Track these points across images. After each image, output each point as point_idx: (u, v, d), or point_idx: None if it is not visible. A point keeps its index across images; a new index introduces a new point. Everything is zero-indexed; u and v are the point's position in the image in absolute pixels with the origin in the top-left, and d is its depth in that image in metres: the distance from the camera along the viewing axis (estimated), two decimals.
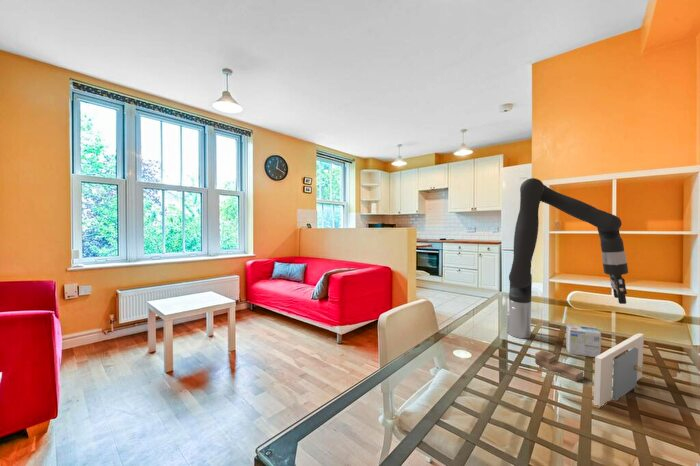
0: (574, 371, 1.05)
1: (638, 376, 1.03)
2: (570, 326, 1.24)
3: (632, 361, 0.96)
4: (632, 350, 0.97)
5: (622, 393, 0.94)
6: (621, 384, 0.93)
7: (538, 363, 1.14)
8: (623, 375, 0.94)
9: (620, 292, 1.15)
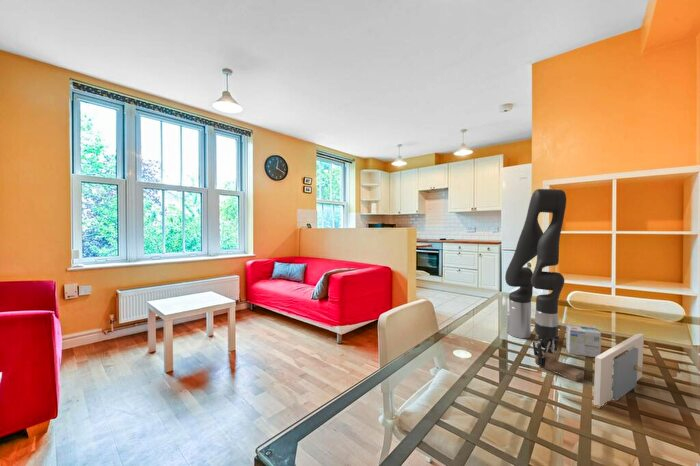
0: (574, 371, 1.05)
1: (638, 376, 1.03)
2: (570, 326, 1.24)
3: (632, 361, 0.96)
4: (632, 350, 0.97)
5: (622, 393, 0.94)
6: (621, 384, 0.93)
7: None
8: (623, 375, 0.94)
9: (536, 354, 1.12)
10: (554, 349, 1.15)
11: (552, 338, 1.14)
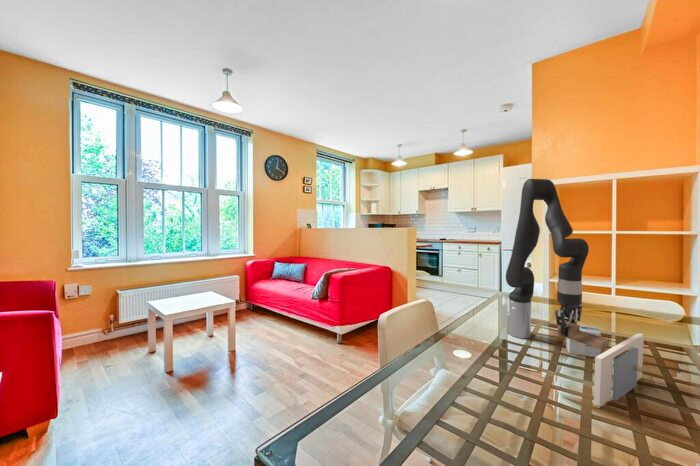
0: (600, 339, 1.02)
1: (638, 376, 1.03)
2: None
3: (632, 361, 0.96)
4: (632, 350, 0.97)
5: (622, 393, 0.94)
6: (621, 384, 0.93)
7: None
8: (623, 375, 0.94)
9: (558, 323, 1.09)
10: (577, 319, 1.12)
11: (575, 307, 1.10)
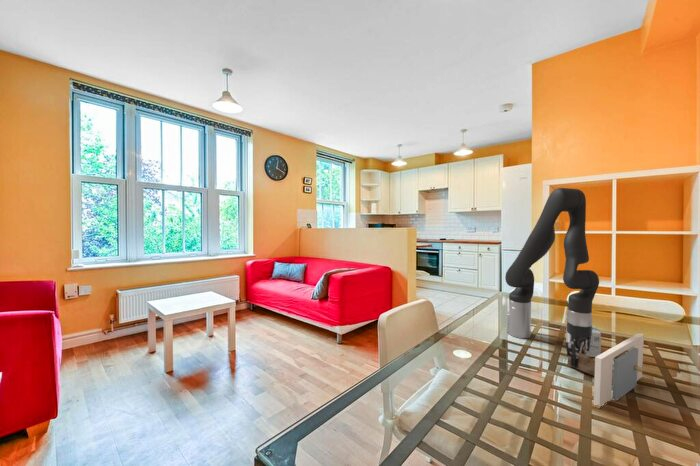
0: None
1: (638, 376, 1.03)
2: None
3: (632, 361, 0.96)
4: (632, 350, 0.97)
5: (622, 393, 0.94)
6: (621, 384, 0.93)
7: None
8: (623, 375, 0.94)
9: (569, 354, 1.09)
10: None
11: (585, 338, 1.11)
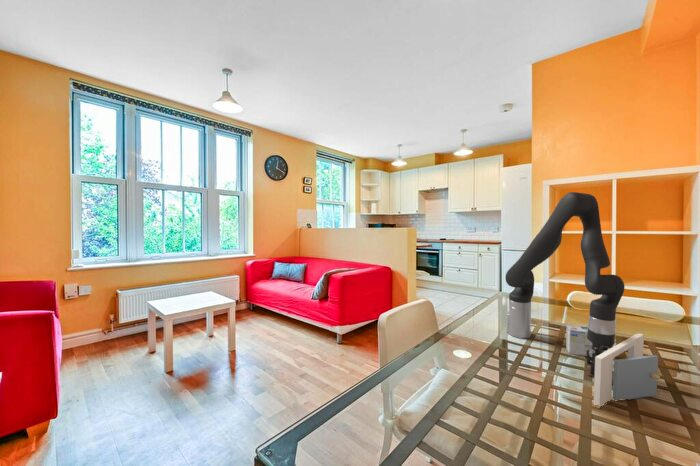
0: None
1: None
2: (570, 326, 1.24)
3: (646, 367, 0.93)
4: (648, 356, 0.93)
5: (627, 396, 0.92)
6: (625, 386, 0.92)
7: None
8: (629, 378, 0.92)
9: (589, 363, 1.03)
10: None
11: (607, 346, 1.05)
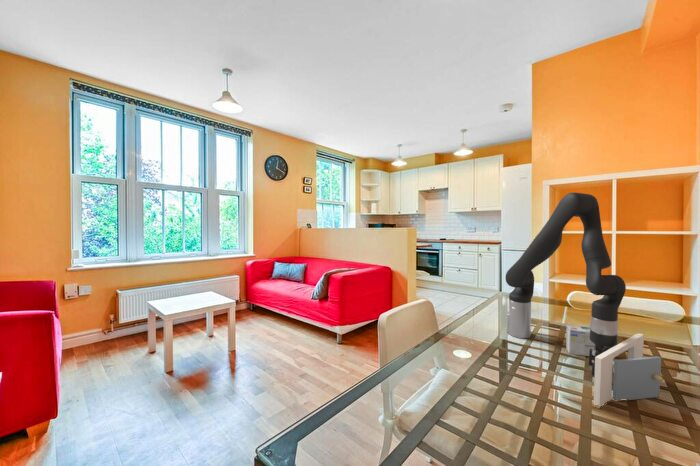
0: None
1: None
2: (570, 326, 1.24)
3: (648, 368, 0.92)
4: (650, 357, 0.92)
5: (628, 396, 0.92)
6: (625, 386, 0.92)
7: None
8: (630, 378, 0.92)
9: (591, 364, 1.02)
10: None
11: None
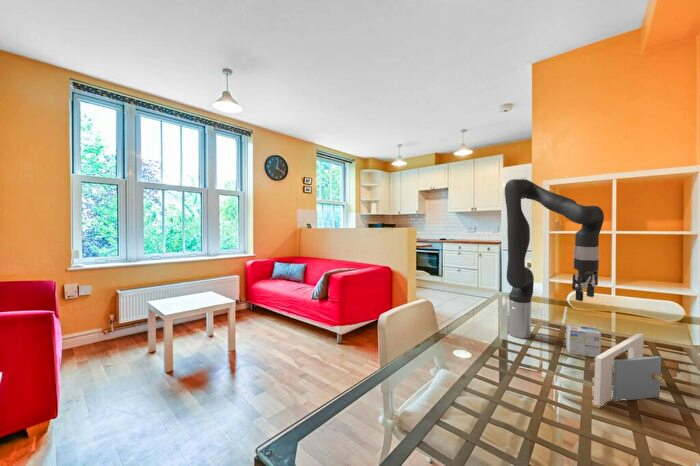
0: None
1: None
2: (570, 326, 1.24)
3: (648, 368, 0.92)
4: (650, 357, 0.92)
5: (628, 396, 0.92)
6: (625, 386, 0.92)
7: (593, 375, 1.05)
8: (630, 378, 0.92)
9: (574, 288, 1.10)
10: (595, 284, 1.15)
11: (592, 274, 1.12)
